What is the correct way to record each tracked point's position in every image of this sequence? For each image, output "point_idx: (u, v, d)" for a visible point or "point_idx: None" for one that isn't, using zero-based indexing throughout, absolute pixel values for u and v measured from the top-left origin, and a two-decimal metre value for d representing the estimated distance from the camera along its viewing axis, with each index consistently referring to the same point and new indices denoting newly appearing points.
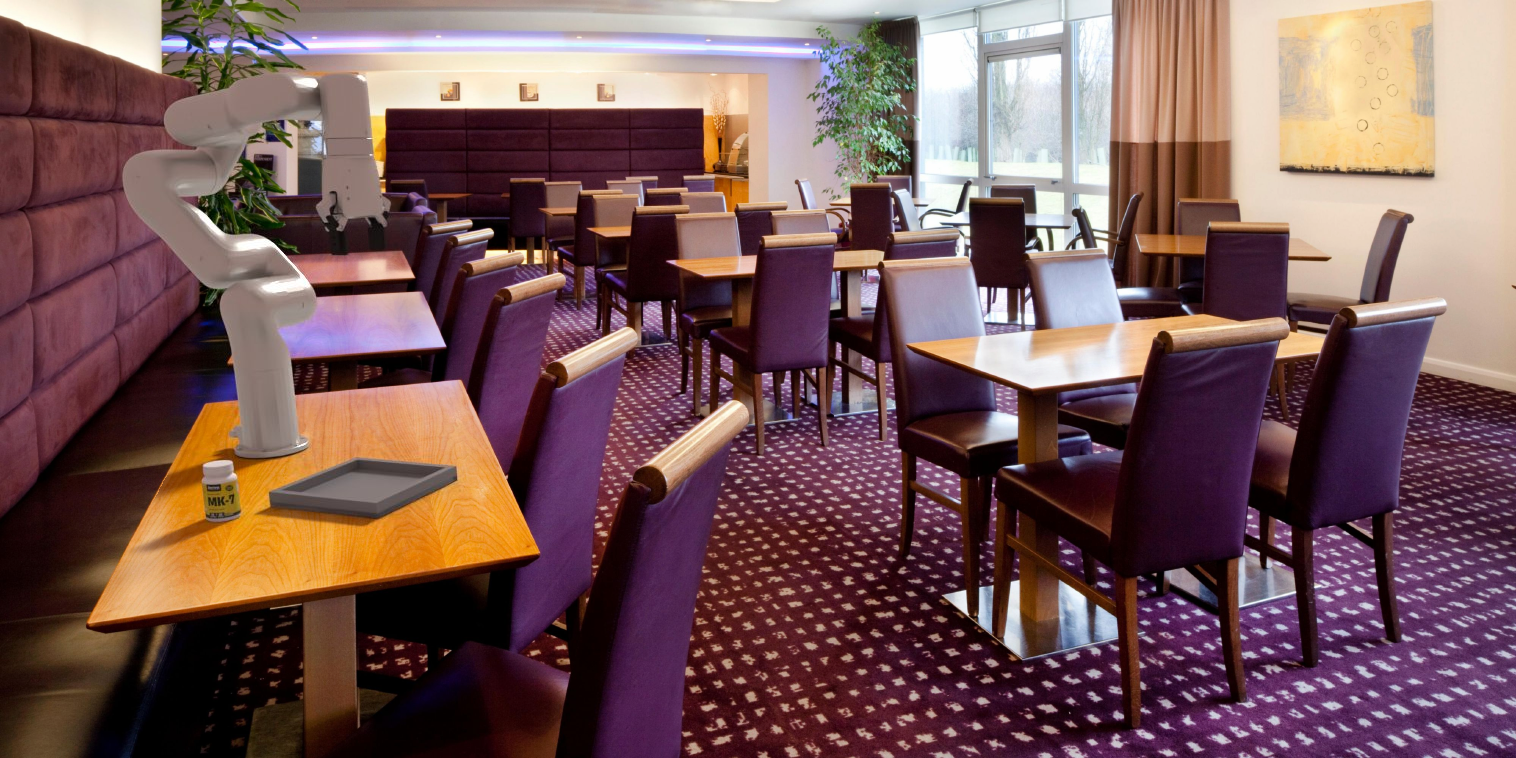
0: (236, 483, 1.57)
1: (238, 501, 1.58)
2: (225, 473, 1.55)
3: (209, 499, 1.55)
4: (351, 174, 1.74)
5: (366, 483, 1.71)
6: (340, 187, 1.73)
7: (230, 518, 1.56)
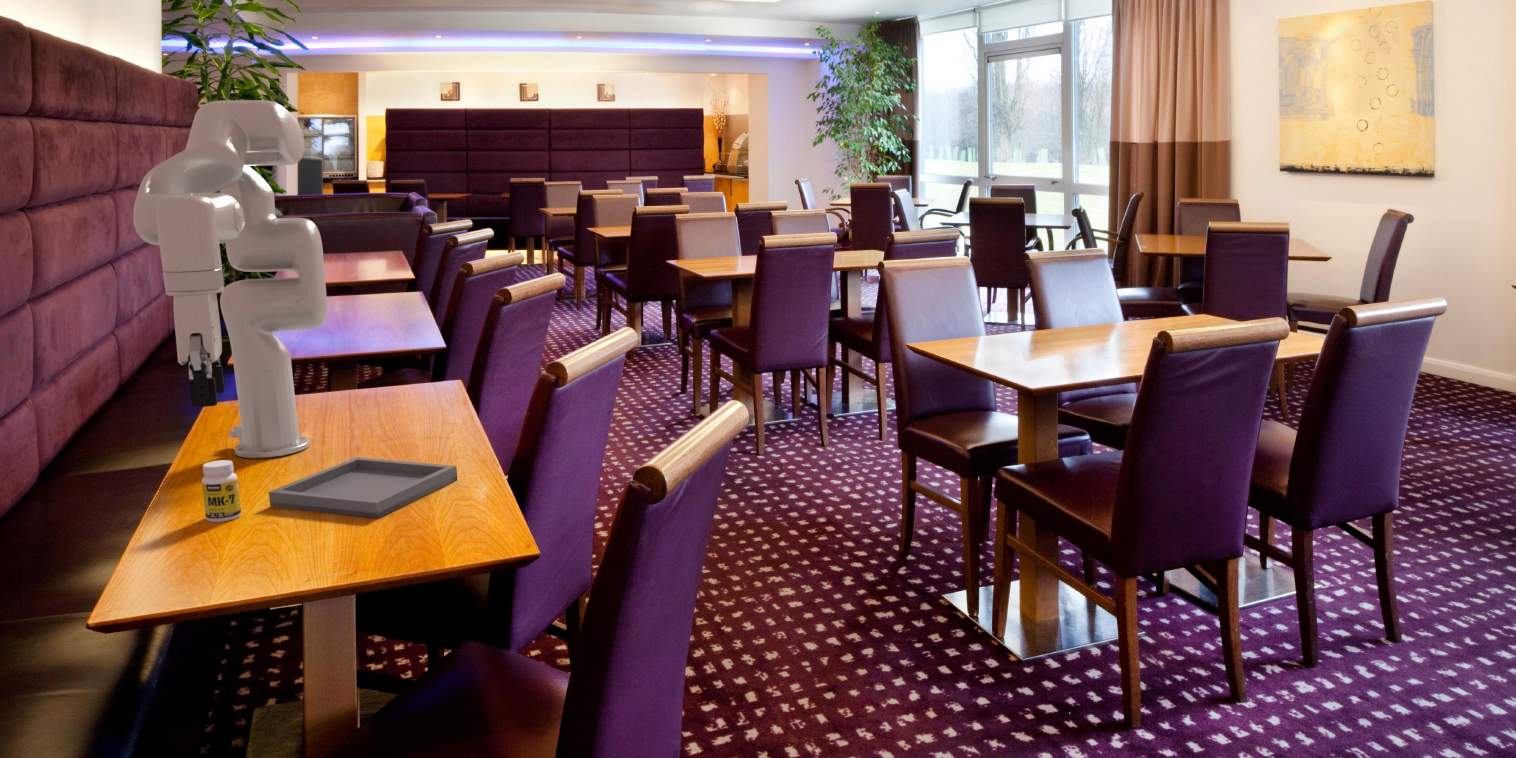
0: (236, 483, 1.57)
1: (238, 501, 1.58)
2: (225, 473, 1.55)
3: (209, 499, 1.55)
4: (213, 311, 1.50)
5: (366, 483, 1.71)
6: (207, 328, 1.48)
7: (230, 518, 1.56)
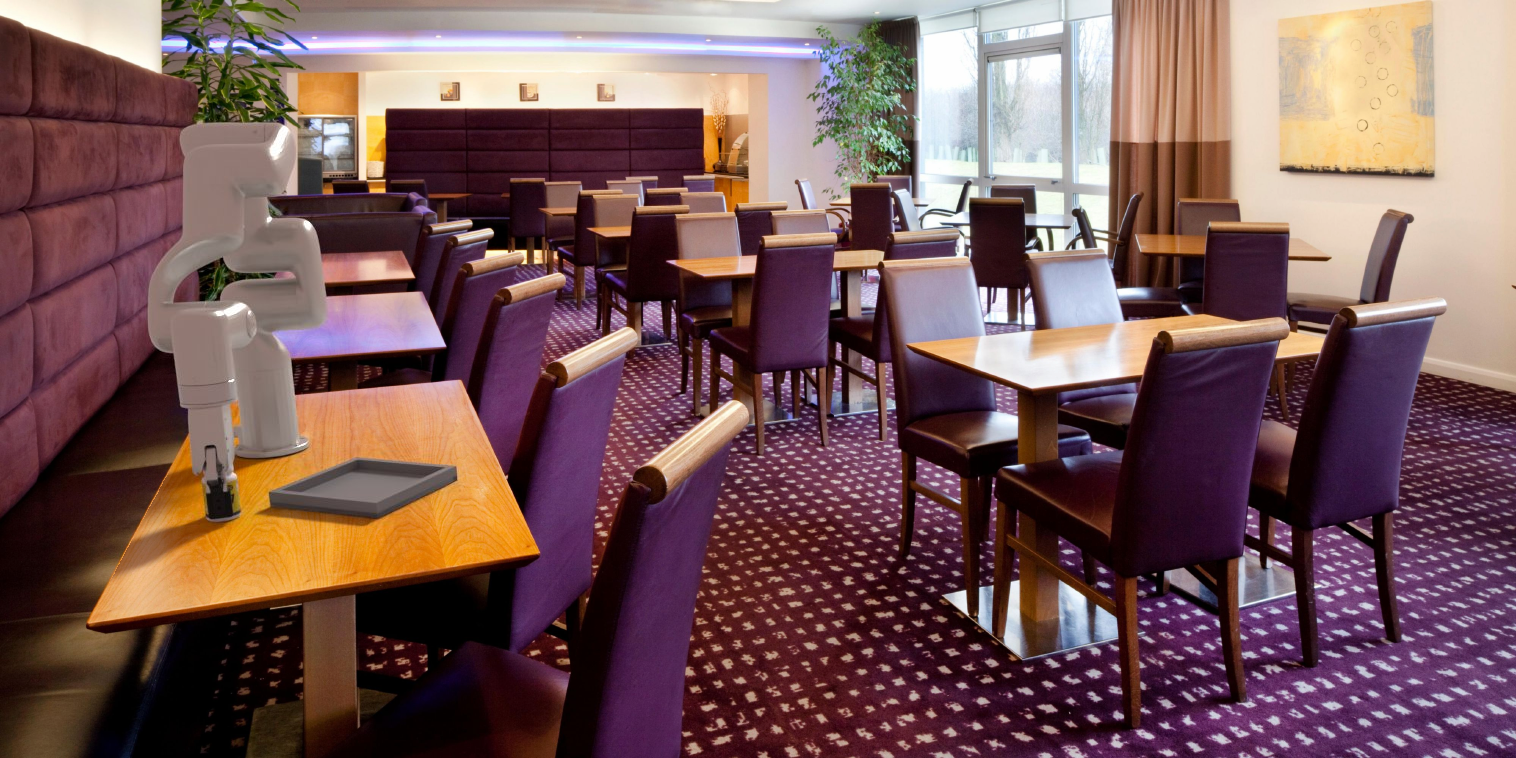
0: (236, 483, 1.57)
1: (238, 501, 1.58)
2: None
3: None
4: (227, 421, 1.53)
5: (366, 483, 1.71)
6: (221, 440, 1.51)
7: (230, 518, 1.56)
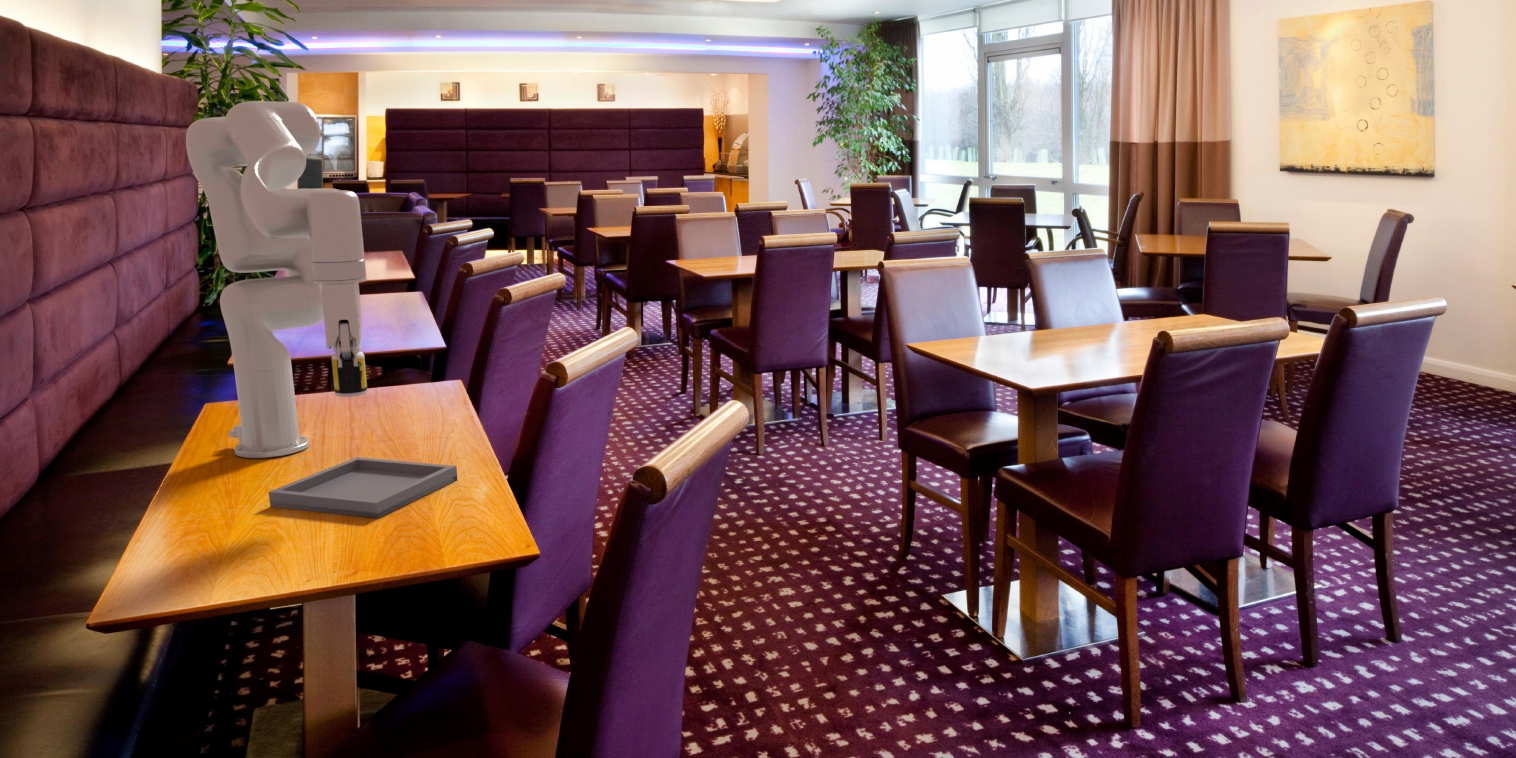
0: (363, 361, 1.64)
1: (365, 378, 1.65)
2: None
3: None
4: (358, 299, 1.60)
5: (366, 483, 1.71)
6: (353, 315, 1.58)
7: (358, 394, 1.63)
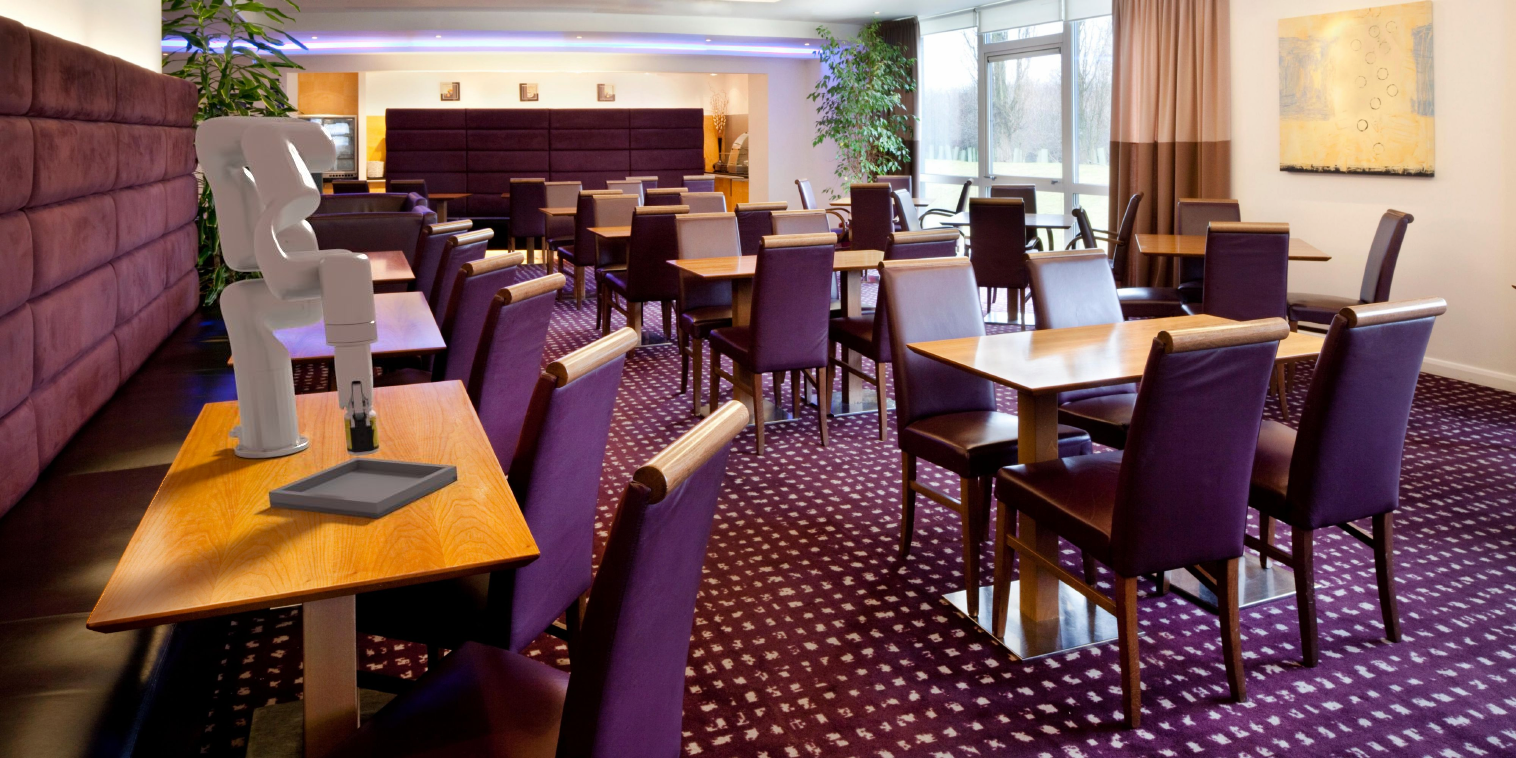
0: (375, 419, 1.66)
1: (377, 436, 1.67)
2: None
3: None
4: (370, 359, 1.62)
5: (366, 483, 1.71)
6: (366, 376, 1.61)
7: (370, 452, 1.66)
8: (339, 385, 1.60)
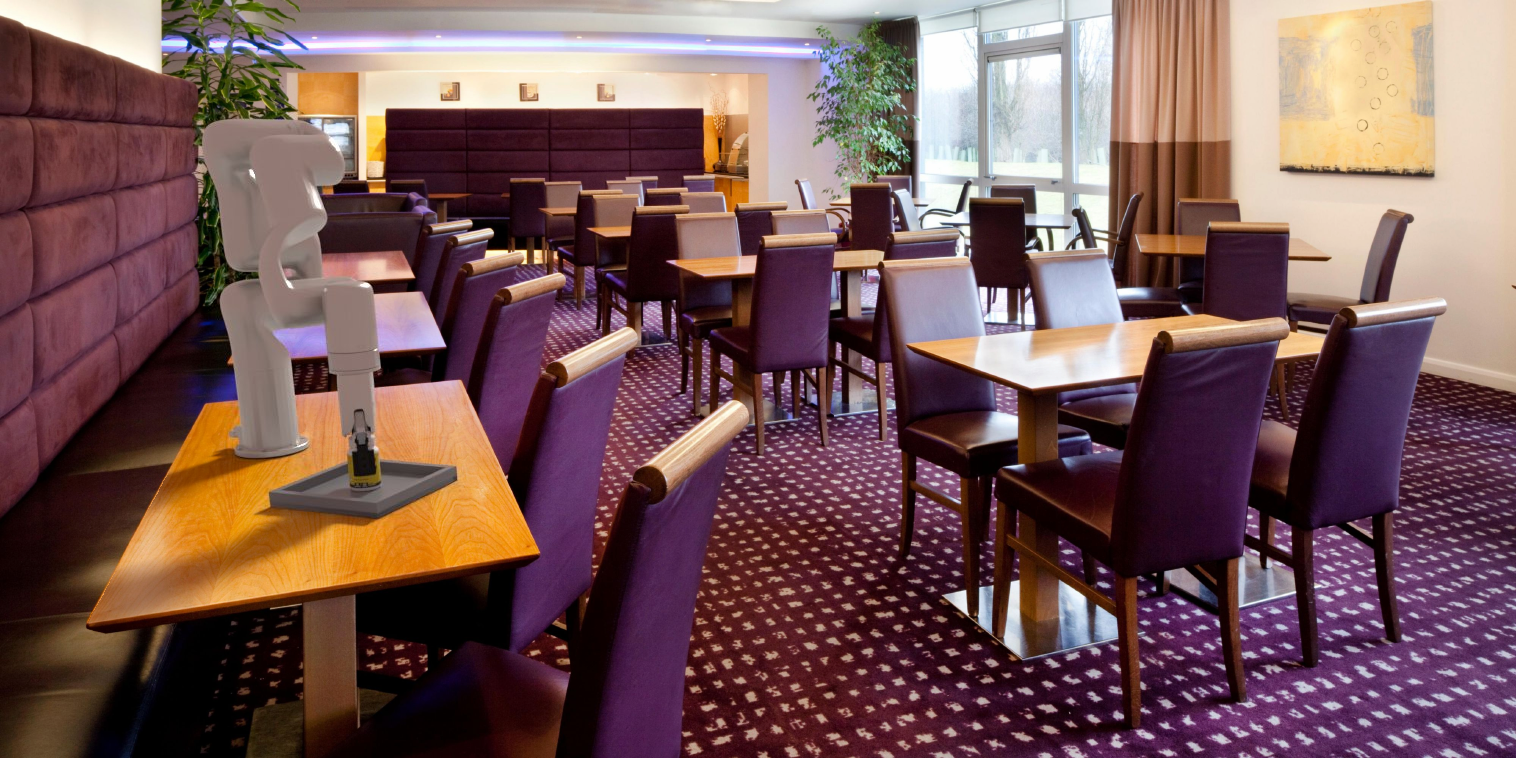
0: (378, 455, 1.68)
1: (379, 472, 1.68)
2: None
3: None
4: (372, 387, 1.63)
5: None
6: (368, 404, 1.62)
7: (373, 488, 1.67)
8: (342, 413, 1.60)
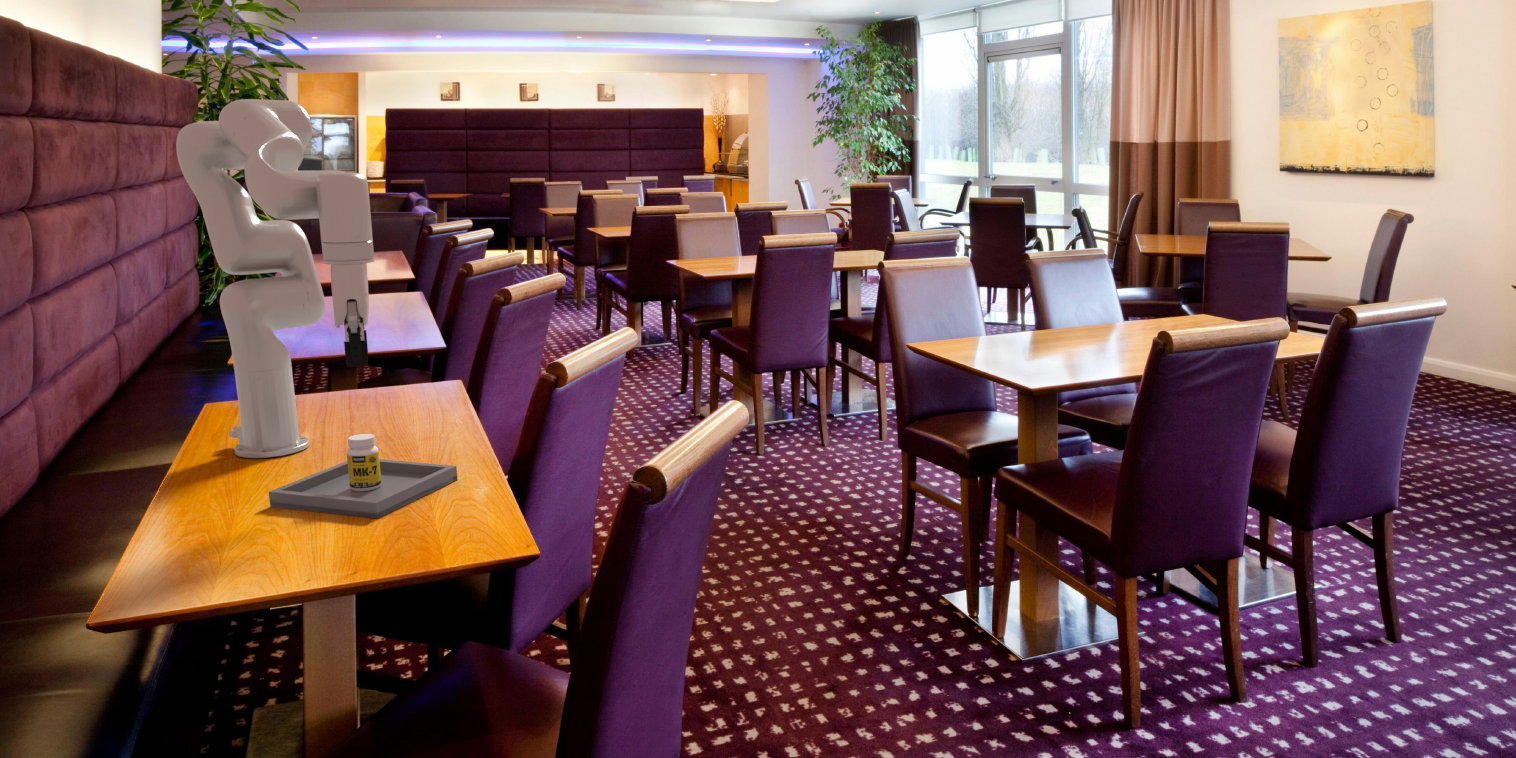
0: (378, 455, 1.68)
1: (379, 472, 1.68)
2: (369, 446, 1.66)
3: (354, 470, 1.66)
4: (366, 279, 1.64)
5: None
6: (361, 295, 1.62)
7: (373, 488, 1.67)
8: (335, 303, 1.61)
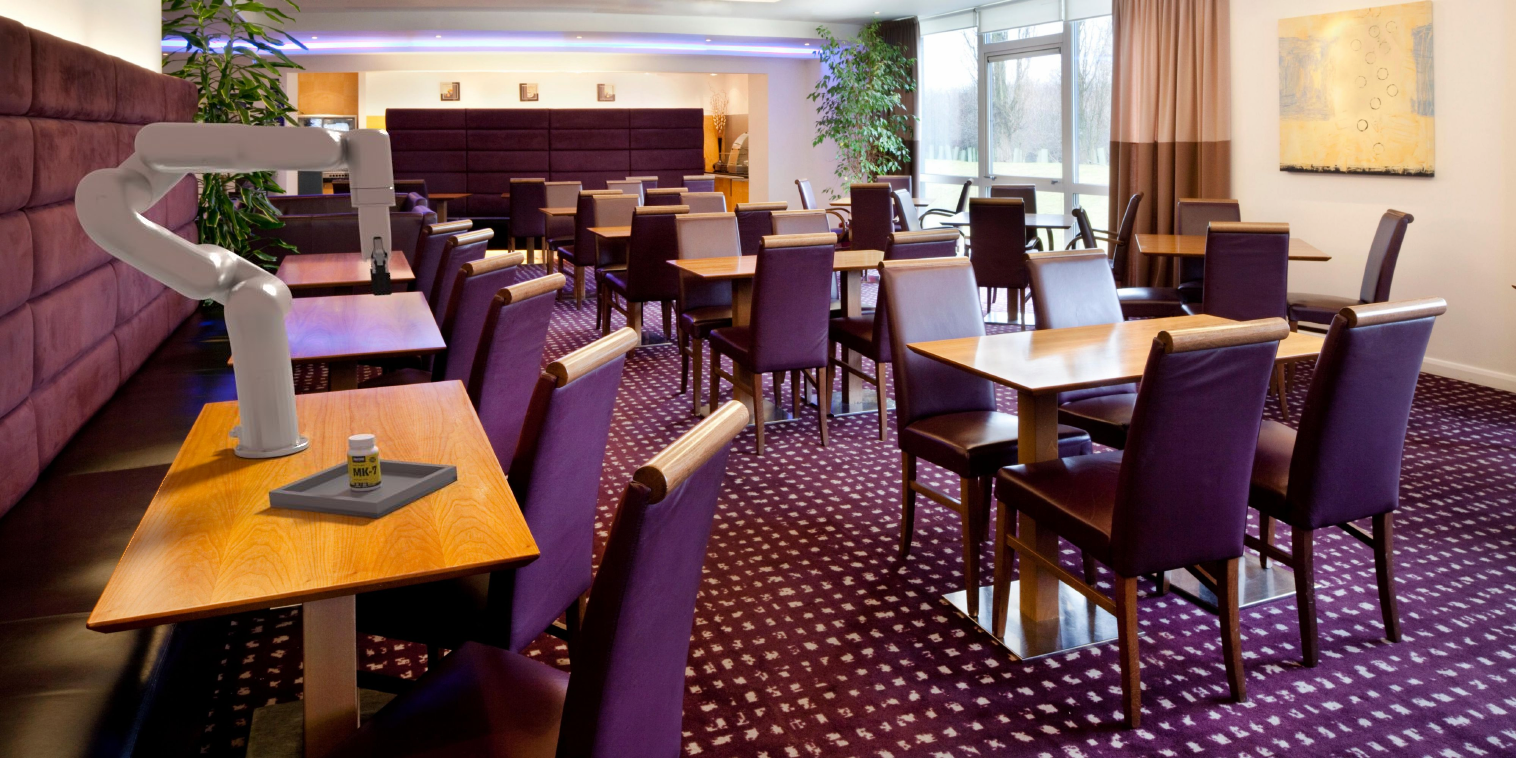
0: (378, 455, 1.68)
1: (379, 472, 1.68)
2: (369, 446, 1.66)
3: (354, 469, 1.66)
4: (389, 220, 1.91)
5: None
6: (385, 233, 1.89)
7: (373, 488, 1.67)
8: (363, 240, 1.88)
